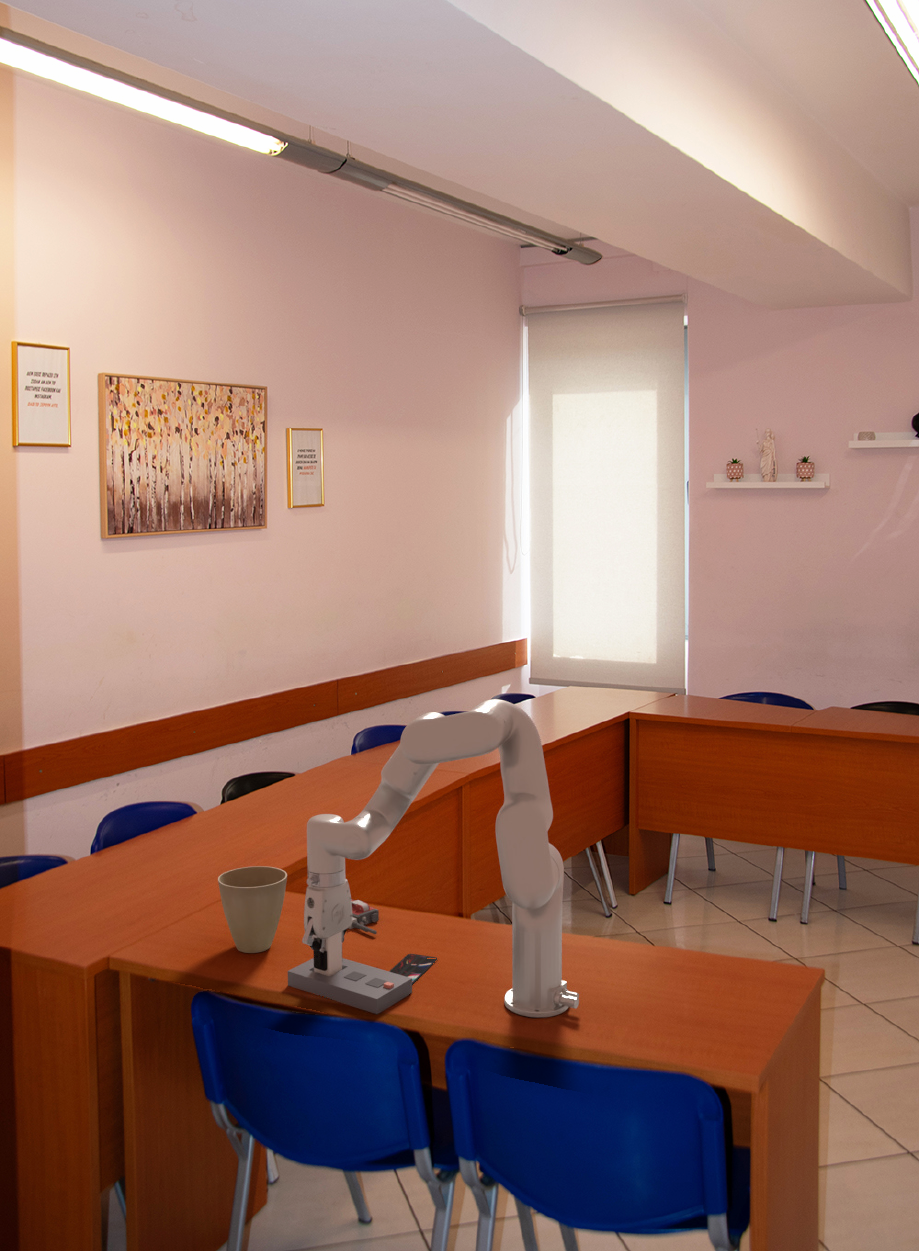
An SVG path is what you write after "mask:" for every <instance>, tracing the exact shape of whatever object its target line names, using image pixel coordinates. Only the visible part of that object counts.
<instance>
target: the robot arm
mask: <svg viewBox="0 0 919 1251" xmlns="http://www.w3.org/2000/svg"><path fill="white" fill-rule="evenodd" d="M496 749H498V753H499V758H500V759H499V760H500V762H499V763H500V774H501V779H502V780H501V781H502V787H503V794H504V796H503V797H504V798H503V799H504V800H503V805H502V806H501V807H500V808H499V811H498V813H497V814H496V820H495V839H496V845H497V846H496V847H497V855H498V859H499V860H498V861H499V866H500V868H499V869H500V874H501V882H502V886H503V889H504V890H503V891H504V892H505V894H506V896H507V898H508V899H509V900H510V902H512V911H511V912H512V915H511V916H512V917H511V918H512V920H511V922H512V924H511V925H512V926H511V927H512V928H511V929H512V932H511V933H512V940H511V941H512V944H511V946H512V948H511V950H512V951H511V952H512V954H511V955H512V957H511V958H512V963H511V964H512V967H511V969H512V970H511V971H512V972H511V974H512V977H511V979H512V986H511V987H512V988H511V989H509V990H507V991H506V992H505V995H504V999H503V1000H504V1005H505V1007H506V1009H508V1010H510V1012H512V1013H514V1014H517V1015H519V1016H522V1017H523V1016H524V1017H527V1018H528V1017H529V1018H549V1017H554V1016H557V1015H560V1014H562V1013H564V1012H566V1011H567V1010H568V1009H569V1008H572V1009H576V1010H577V1008H578V1007H579V1005H580V1004H579V1003H580V999H579V997H580V994H579V993H578V992H575V991H570V990H569V989H567V988H568V987H567V986H568V984H567V983H568V982H567V981H566V980H563V979H562V977H563V975H562V974H563V973H562V972H563V970H562V969H563V960H562V959H563V957H562V956H563V947H562V946H563V945H562V943H563V898H564V897H563V894H564V882H565V881H564V878H565V868H564V862H563V858H562V856H561V853H560V852H559V850H558V849H557V848H556V847H555V846H554V845H553V844H551V843H550V842H549V837H548V836H549V834H548V831H549V829H550V827H551V825H552V822H553V820H554V811H553V804H552V800H551V795H550V794H551V793H550V787H549V781H548V774H547V770H546V763H545V762H546V761H545V758H544V749H543V745H542V740H541V737H540V734H539V730H538V728H537V726H536V724H535V723H534V721H533V719H532V718H531V717H530V716H529V714H528V713H527V712H526V711H525V710H524V709H522V708H521V707H519V706H518V705H516V704H514V703H512V702H509V701H507V700H503V699H498V698H494V699H488V700H483V701H482V702H480V703H478V704H477V705H475V706H474V707H473V708H472V709H470V710H469V711H464V712H459V713H455V714H449V715H444V713H443V714H442V713H440V712H435V711H431V712H425V713H423V714H421V715H419V716H418V717H416V718H415V719H414V720H412V721H411V722H409V723H408V724H407V725H406V726H405V728H404V729H403V731H402V733H401V736H400V743H399V745H398V746H397V747H396V749H395V750H394V752H393V753H392V755H391V756H390V758H389V759H388V760H387V761H386V763H385V764H384V766H383V767H382V769H381V771H380V776H381V780H380V783H379V785H378V787H377V788H376V790H375V792H374V794H373V795H372V796H371V798H370V799H369V801H368V802H367V804H366V805H365V806H364V807H363V809H362V810H361V812H360V813H359V814H358V815H357V816H355V817H354V818H353V819H350V820H348V821H346V822H345V821H344V819H343V818H342V817H341V816H340V815H337V814H333V813H321V814H316V815H314V816H312V817H310V818H309V819H308V821H307V823H306V853H307V856H306V857H307V860H306V861H307V862H306V863H307V879H306V884H307V887H306V890H305V891H306V892H305V898H304V899H305V900H304V908H303V909H304V910H303V926H304V935H303V936H302V940H301V942H302V944H304V945H308V946H309V947H310V949H311V950H312V951H313V958H314V968H316V969H320V970H323V971H326V970H327V951H325V945H326V938H329V937H331V936H333V935H335V934H337V933H339V932H341V931H342V944H343V943H344V942H345V935H346V932H347V931H348V929H349V928H348V927H350V926H351V924H352V903H351V899H352V895H351V889H350V884H349V882H348V879H347V878H346V859H348V860H353V861H354V860H355V861H360V860H365V859H366V858H368V857H370V856H371V855H372V854H373V853H374V852H375V851H376V850H377V849H378V848H379V847H380V846H381V845H382V844H383V843H384V842H385V841H386V840H387V839H388V838H389V836H390V835H391V833H392V832H393V830H395V828H396V827H397V825H398V824H399V822H400V821H401V819H402V818H403V816H404V815H405V814H406V812H407V811H408V809H409V807H410V806H411V804H412V803H413V802H414V800H415V799H416V798H417V796H418V795H419V793H420V792H421V790H422V788H423V787H424V786H425V784H426V783H427V782H428V780H429V778H430V777H431V776H432V775H433V773H434V772H435V770H436V768H437V767H438V766H439V764H441V763H447V762H452V761H453V762H454V761H459V760H465V759H470V758H476V757H481V756H485V755H488V754H490V753H492V752H495V750H496ZM318 939H320V943H318V942H317V940H318Z"/></svg>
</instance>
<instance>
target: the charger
mask: <svg viewBox="0 0 919 1251" xmlns="http://www.w3.org/2000/svg"><path fill="white" fill-rule="evenodd" d="M317 942H318V943H320V939H318V940H317ZM325 951H327V970H326V971H323V970H320V969H316V968H314V972H317V973H320V974H323V975H326V976H331V975H333V974H335V973H337V972H339V971H341V970H342V958H343V943H342V931H341V932H339V933H337V934H335V935H333V936H331V937H329V938H326V945H325Z"/></svg>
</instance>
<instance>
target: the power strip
mask: <svg viewBox="0 0 919 1251" xmlns="http://www.w3.org/2000/svg"><path fill="white" fill-rule="evenodd" d="M389 971H390V970H385V969H381V968H378V967H375V966H371V965H367V964H365V963H361V962H357V961H354V960H350V959H347V958H344V957H342V970H341V971H339V972H337V973H335V974H333V975H331V976H326V975H323V974H320V973H317V972H314V957H313V958H310V959H309V960H307V961H305V962H303V963H300V964H299V965H296V966H295V967H293V968H291V969H289V970H287V986H289V987H292V988H294V989H298V990H301V991H303V992H308V993H310V992H311V993H310V994H313V993H314V994H313V995H317V996H319V995H320V997H322V996H324V997H323V998H326V997H327V998H326V999H328V998H330V999H329V1000H331V999H332V1000H331V1001H334V1000H335V1001H334V1002H338V1003H341V1004H344V1005H347V1006H351V1007H353V1008H357V1009H360V1010H362V1011H365V1012H369V1013H372V1014H375V1015H379V1014H380V1013H382V1012H383V1011H386V1010H387V1009H389V1008H390V1007H392V1006H394V1005H395V1004H396V1003H398V1002H400V1001H401V1000H404V999H405V998H406V997H408V996H409V994H410V993H411V994H412V993H413V986H412V978H409V977H406V976H402V975H399V974H395V973H392V972H389ZM411 994H410V995H411Z"/></svg>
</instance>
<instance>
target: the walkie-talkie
mask: <svg viewBox="0 0 919 1251" xmlns="http://www.w3.org/2000/svg"><path fill="white" fill-rule="evenodd" d="M351 903H352V924H351V926H350V927H348V928H347V929H349V930H352V929H359V930H361V931H363V932H366V933H371V934H373V935H377V934H378V932H377V930H376V929H373V928H370V927H368V926H366V925H370V924H371V923H376V922H378V921H379V920H380V919H379V917H380V916H379V915H380V914H379V913H380V912H379V909H377V908H374V907H372V906H370V905H369V904H368V903H367V902H365V901H362V900H359V899H357V900H354V899H352V898H351Z"/></svg>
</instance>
